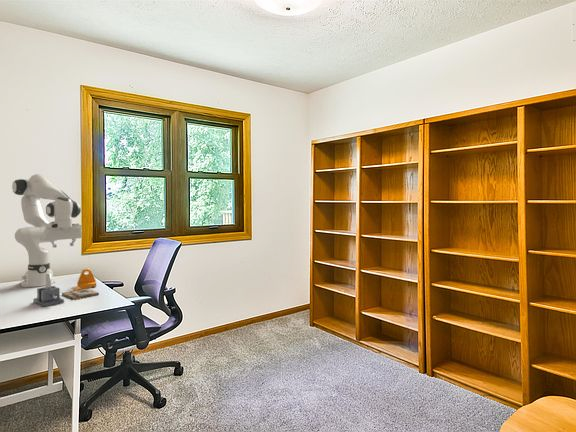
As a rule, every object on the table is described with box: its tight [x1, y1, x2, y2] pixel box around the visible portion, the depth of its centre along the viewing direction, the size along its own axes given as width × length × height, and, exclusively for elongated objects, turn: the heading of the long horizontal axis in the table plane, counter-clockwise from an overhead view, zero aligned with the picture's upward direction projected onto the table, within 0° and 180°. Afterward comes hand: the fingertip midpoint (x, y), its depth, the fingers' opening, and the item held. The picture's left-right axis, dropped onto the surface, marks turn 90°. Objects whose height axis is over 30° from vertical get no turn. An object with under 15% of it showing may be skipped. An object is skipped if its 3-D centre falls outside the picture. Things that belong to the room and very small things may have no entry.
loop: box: [71, 285, 94, 296], centre depth 213 cm, size 15×8×2 cm, turn 53°
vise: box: [32, 274, 65, 308], centre depth 195 cm, size 17×10×16 cm, turn 53°
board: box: [61, 288, 100, 301], centre depth 213 cm, size 16×14×1 cm
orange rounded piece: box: [76, 267, 97, 289], centre depth 232 cm, size 11×7×12 cm, turn 121°
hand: (63, 246), depth 214 cm, fingers open, 8 cm apart
